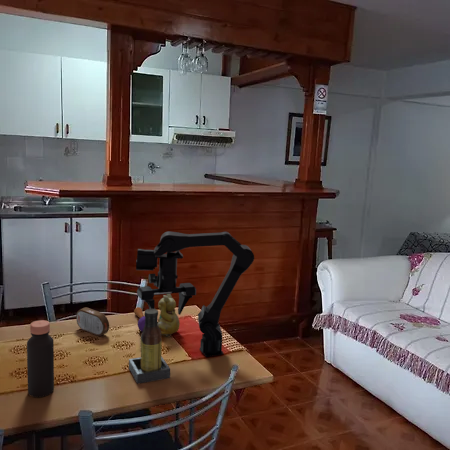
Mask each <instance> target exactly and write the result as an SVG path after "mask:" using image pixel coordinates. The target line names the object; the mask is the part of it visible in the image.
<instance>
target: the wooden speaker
mask: <svg viewBox="0 0 450 450" xmlns="http://www.w3.org/2000/svg"><path fill="white" fill-rule="evenodd" d="M75 318H76V319H75V320H76V324H77V326H78V328H80V329H81V330H82V331H84V332H87V333H89V334H92V335H94V336H96V337H97V336H98V337H99V336H100V337H101V336H104V335H106V334H108V332H109V330H110V322H109V320H108V317H107V316H106V315H105V314H104V313H103V312H101V311H98V310H95V309H92V308H89V307H86V306H85V307H83V308H81V309H79V310H78V311H77V312H76V316H75Z"/></svg>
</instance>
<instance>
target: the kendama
mask: <svg viewBox="0 0 450 450" xmlns="http://www.w3.org/2000/svg"><path fill="white" fill-rule="evenodd" d="M133 313H134V315H136V316H137V317H138V318H139V319H138V321H137V327H138V329H139V330H140V331H141V332H142V331H143V329H144V326H145V315H144V312H143V309H142V308H141V307H140V306H138V307H135V309H134V310H133Z"/></svg>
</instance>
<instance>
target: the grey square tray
mask: <svg viewBox="0 0 450 450" xmlns="http://www.w3.org/2000/svg"><path fill="white" fill-rule="evenodd" d="M128 369H129V371H130V373H131V374H132V376H133V378H134V380H135V382H136V384H145V383H149V382H154V381H155V382H156V381H159V380H160V381H161V380H167V379H171V367H170V366H169V365H168V364H167V362H166V361H165V359H164V357H162V355H161V369H158V370H152V371H146V372H142V371H141V356H140V357H134V358H129V359H128Z"/></svg>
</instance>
